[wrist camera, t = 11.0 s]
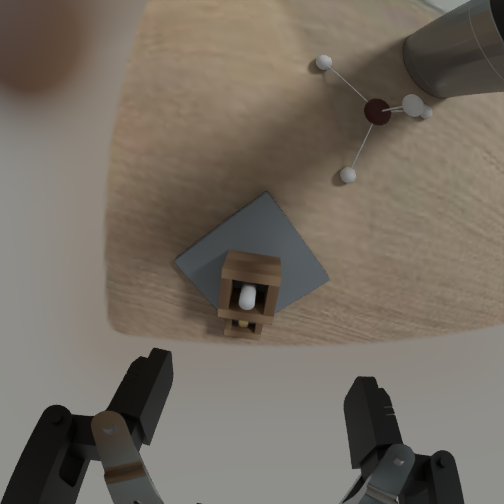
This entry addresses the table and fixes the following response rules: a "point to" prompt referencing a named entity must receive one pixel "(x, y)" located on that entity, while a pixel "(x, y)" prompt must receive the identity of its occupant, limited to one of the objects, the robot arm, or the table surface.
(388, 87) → the table surface
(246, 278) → the brown hollow open box
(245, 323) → the brass dowel
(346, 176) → the molecular model
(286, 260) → the slate board
